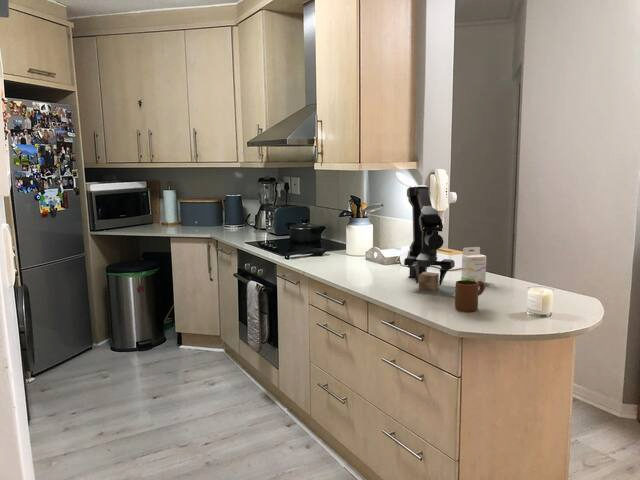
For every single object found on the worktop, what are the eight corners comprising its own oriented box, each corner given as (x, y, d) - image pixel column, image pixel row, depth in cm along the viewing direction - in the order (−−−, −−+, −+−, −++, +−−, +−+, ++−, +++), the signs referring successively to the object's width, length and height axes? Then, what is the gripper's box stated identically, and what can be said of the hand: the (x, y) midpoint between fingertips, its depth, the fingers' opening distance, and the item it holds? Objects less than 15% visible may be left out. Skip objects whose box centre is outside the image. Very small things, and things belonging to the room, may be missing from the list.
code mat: (413, 293, 202) (413, 292, 202) (426, 284, 215) (426, 283, 215) (470, 300, 191) (470, 299, 191) (481, 290, 205) (481, 289, 205)
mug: (475, 303, 187) (476, 277, 186) (491, 308, 181) (492, 281, 179) (450, 308, 181) (450, 281, 180) (466, 313, 175) (466, 286, 173)
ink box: (467, 285, 212) (468, 249, 210) (460, 282, 217) (461, 247, 215) (486, 283, 215) (487, 248, 212) (479, 281, 219) (480, 246, 217)
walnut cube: (418, 289, 206) (419, 274, 205) (423, 286, 211) (424, 271, 210) (433, 291, 203) (434, 276, 202) (438, 288, 208) (438, 273, 207)
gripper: (399, 246, 202) (398, 286, 204) (446, 250, 193) (446, 291, 195) (409, 242, 211) (408, 280, 214) (455, 245, 202) (454, 284, 205)
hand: (428, 284), depth 207 cm, fingers open, 9 cm apart
